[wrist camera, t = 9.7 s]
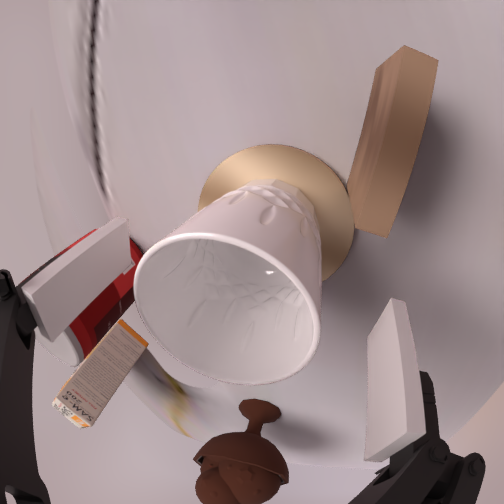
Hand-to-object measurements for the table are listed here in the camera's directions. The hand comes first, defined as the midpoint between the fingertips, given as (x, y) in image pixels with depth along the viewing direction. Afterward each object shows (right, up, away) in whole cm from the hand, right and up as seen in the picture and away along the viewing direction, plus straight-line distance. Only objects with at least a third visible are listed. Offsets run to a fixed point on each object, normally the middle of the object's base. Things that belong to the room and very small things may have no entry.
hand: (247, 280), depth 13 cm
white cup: (+1, +3, +7) cm, 7 cm away
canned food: (-13, +1, +13) cm, 18 cm away
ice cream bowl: (+1, -19, +19) cm, 27 cm away
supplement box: (-16, -10, +20) cm, 27 cm away
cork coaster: (+2, +3, +7) cm, 8 cm away
